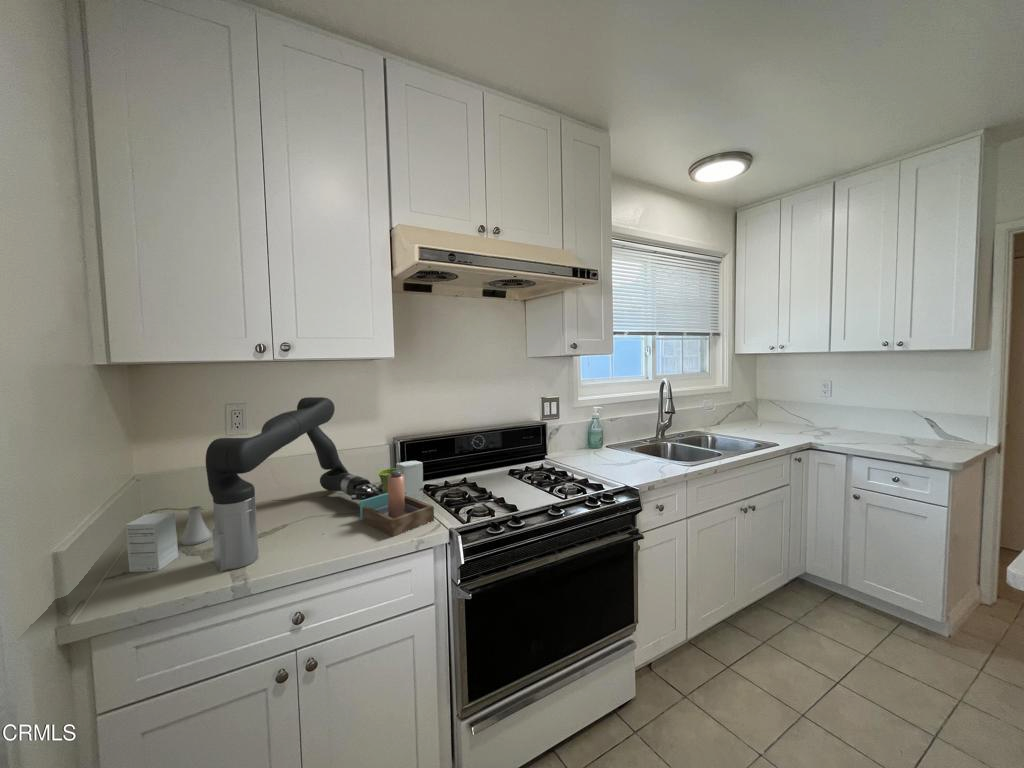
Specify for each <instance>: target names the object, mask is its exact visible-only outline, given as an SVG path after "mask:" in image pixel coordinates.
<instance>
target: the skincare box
mask: <svg viewBox="0 0 1024 768" xmlns="http://www.w3.org/2000/svg"><path fill="white" fill-rule="evenodd" d="M395 466H396V467H395V468H396V470H399V471H401V474H403V475H404V495H405V496H408V497H411V498H413V499H416V500H419V501H421V502H424V464H423V462H422V461H418V460H409V461H403V462H402V461H401V462H397V463H395Z"/></svg>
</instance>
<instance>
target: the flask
mask: <svg viewBox="0 0 1024 768" xmlns="http://www.w3.org/2000/svg"><path fill="white" fill-rule="evenodd" d="M186 510H187V512H188V519H187V524H186V526H185V529H184V532H183V535H182V537H181V540H180V542H179V544H182V545H183V546H192V545H193V546H194V545H199V544H202V543H204V542H207V541H208V540H210V539H211V538H213V534H212V533H211V531H210V529H208V527H207V524H206V523H205V521H204V519H203V516H202V514H201V513H202V511H201V510H202V506H201V505H196V506H195V505H194V506H191V507H189V508H187V509H186Z"/></svg>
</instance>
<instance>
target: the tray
mask: <svg viewBox="0 0 1024 768" xmlns="http://www.w3.org/2000/svg"><path fill="white" fill-rule="evenodd" d="M364 506H368V507H370V508H372V509H374V510H376V511H379V512H381V513H383V514H385V515H387V516H388V493H385V494H382V495H378V496H375V497H372V498H368V499H365V500H359V510H360V511H359V512H360V513H359V515H360V517H359V518H360V521H362V522H363V507H364ZM417 510H420V509H419V508H416V507H414V506H411V505H409V504H406V503H405V514H408V513H411V512H414V511H417Z"/></svg>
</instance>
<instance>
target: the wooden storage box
mask: <svg viewBox="0 0 1024 768" xmlns="http://www.w3.org/2000/svg"><path fill="white" fill-rule="evenodd" d="M404 500H405V503H406V504H409V505H411V506H414V507H416V508H419V509H420V510H417V511H414V512H411V513H408V514H405V515H402V516H400V517H397V518H392V517H390V516H387V515H385V514H383V513H381V512H379V511H376V510H374V509H372V508H370V507H368V506H364V507H363V521H364V522H363V521H362V522H363V523H365V522H366V523H365V524H367V523H368V524H367V525H369V524H370V525H369V526H371V527H373V528H374V529H377V528H378V529H377V530H379V531H380V532H383V533H385V534H387V535H389V536H391V537H392V536H393V537H396V536H399V535H402V534H404V533H407V532H409V531H408V530H410V529H412V530H414V529H413V528H415V527H417V528H419V527H418V526H420V525H423V524H425V525H427V524H426V523H428V522H430V523H432V522H431V521H433V522H434V521H435V508H434V505H431V504H429V503H426V502H424V501H422V502H421V501H419V500H416V499H413V498H411V497H408V496H405V495H404ZM428 524H429V523H428ZM423 526H424V525H423ZM420 527H421V526H420ZM415 529H416V528H415ZM406 531H407V532H406ZM410 531H411V530H410ZM403 532H404V533H403ZM401 533H402V534H401Z"/></svg>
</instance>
